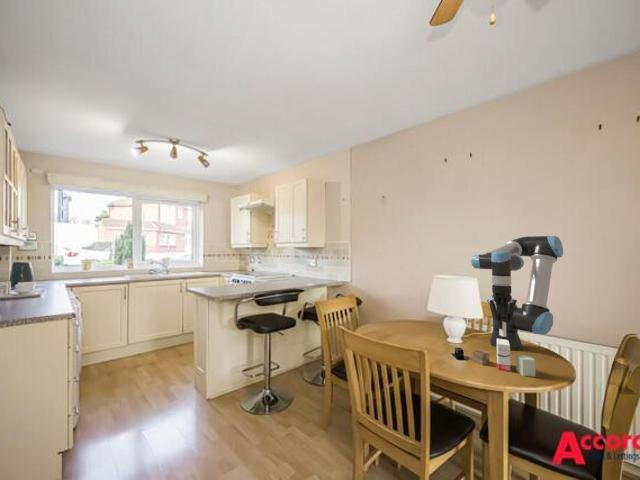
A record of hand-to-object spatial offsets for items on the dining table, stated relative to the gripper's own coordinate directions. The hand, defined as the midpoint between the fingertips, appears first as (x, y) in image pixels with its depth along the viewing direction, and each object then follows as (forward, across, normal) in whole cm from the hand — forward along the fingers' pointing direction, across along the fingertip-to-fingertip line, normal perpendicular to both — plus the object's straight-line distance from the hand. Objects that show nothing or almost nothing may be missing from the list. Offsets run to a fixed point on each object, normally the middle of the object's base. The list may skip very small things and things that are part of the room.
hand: (502, 335), depth 132 cm
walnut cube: (+15, +7, -6) cm, 17 cm away
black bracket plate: (+15, +14, -14) cm, 25 cm away
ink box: (+15, 0, 0) cm, 15 cm away
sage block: (+15, -5, +7) cm, 17 cm away
